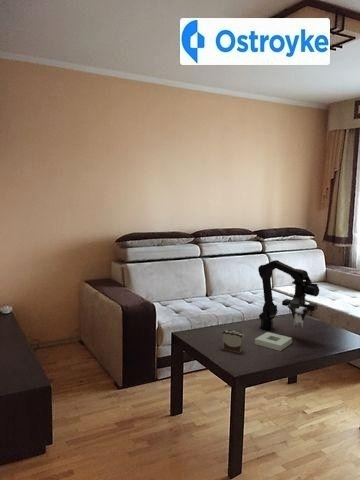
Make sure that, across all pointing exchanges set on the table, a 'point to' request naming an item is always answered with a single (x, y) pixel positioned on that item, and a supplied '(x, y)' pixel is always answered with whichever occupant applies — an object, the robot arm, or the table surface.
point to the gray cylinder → (298, 319)
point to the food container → (232, 340)
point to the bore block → (273, 341)
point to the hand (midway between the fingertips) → (298, 319)
